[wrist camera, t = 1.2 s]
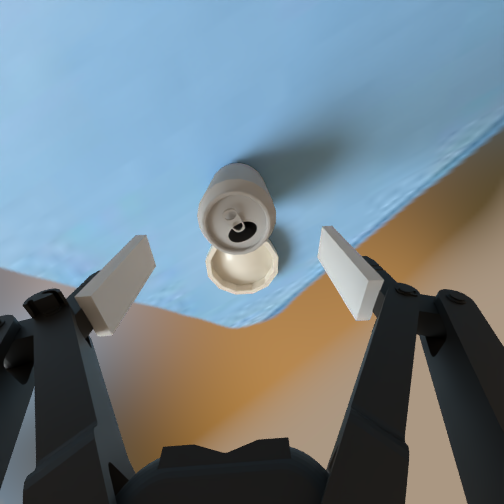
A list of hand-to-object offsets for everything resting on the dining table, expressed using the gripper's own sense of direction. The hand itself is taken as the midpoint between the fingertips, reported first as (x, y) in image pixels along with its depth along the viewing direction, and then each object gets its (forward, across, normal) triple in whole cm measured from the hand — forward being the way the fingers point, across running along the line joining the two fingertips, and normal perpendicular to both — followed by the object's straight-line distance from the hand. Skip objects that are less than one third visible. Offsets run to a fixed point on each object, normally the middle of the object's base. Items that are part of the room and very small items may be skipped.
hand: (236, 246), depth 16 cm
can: (+15, 0, 0) cm, 15 cm away
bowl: (+15, 0, -10) cm, 18 cm away
